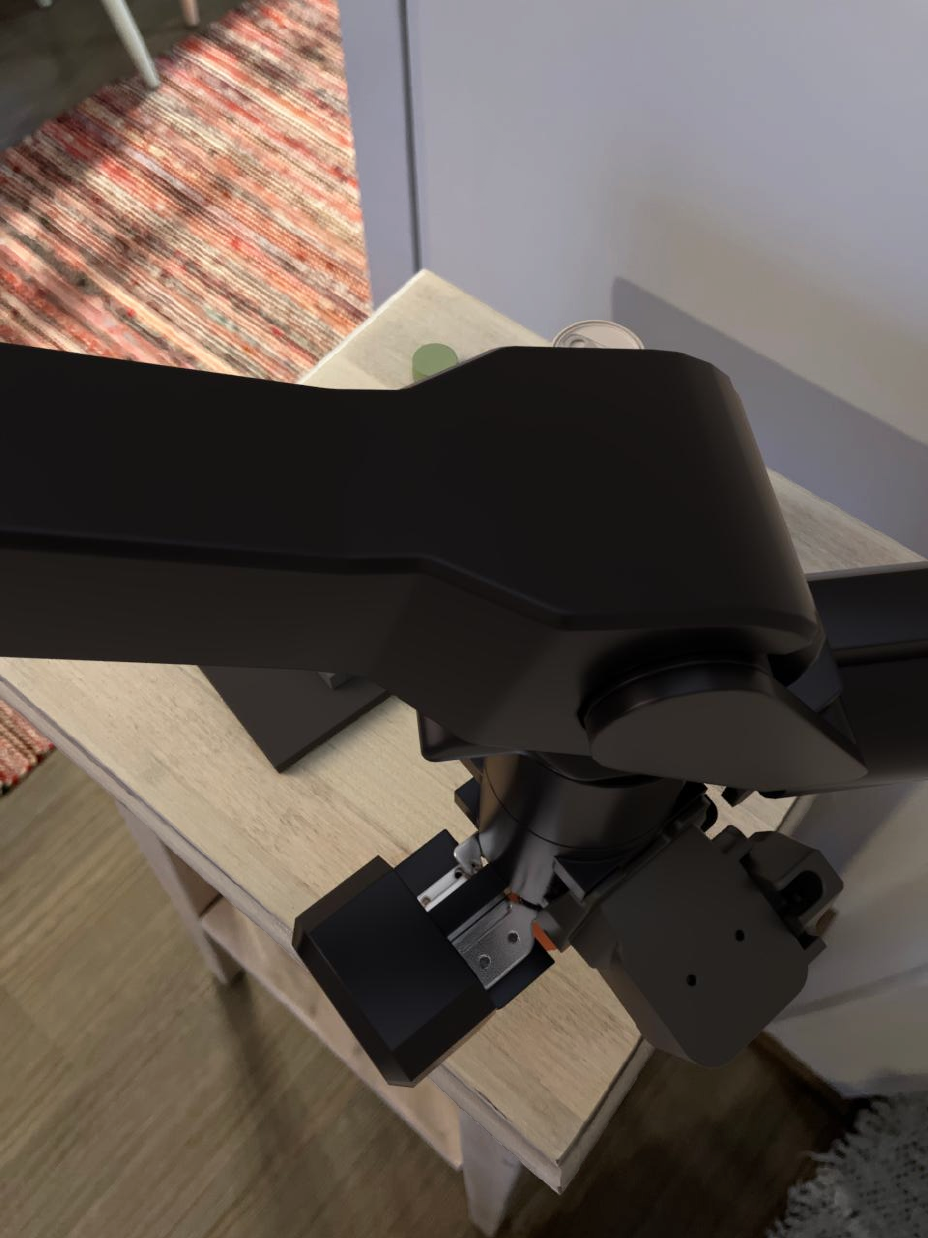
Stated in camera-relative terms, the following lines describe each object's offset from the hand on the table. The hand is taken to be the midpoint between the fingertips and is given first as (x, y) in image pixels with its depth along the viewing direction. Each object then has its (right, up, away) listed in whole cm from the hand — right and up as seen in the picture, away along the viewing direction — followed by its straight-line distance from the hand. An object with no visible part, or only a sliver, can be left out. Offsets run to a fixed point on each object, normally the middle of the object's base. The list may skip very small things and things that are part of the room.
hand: (541, 897), depth 41 cm
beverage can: (+3, +17, +19) cm, 25 cm away
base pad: (-11, +11, +15) cm, 22 cm away
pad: (-5, +28, +25) cm, 38 cm away
